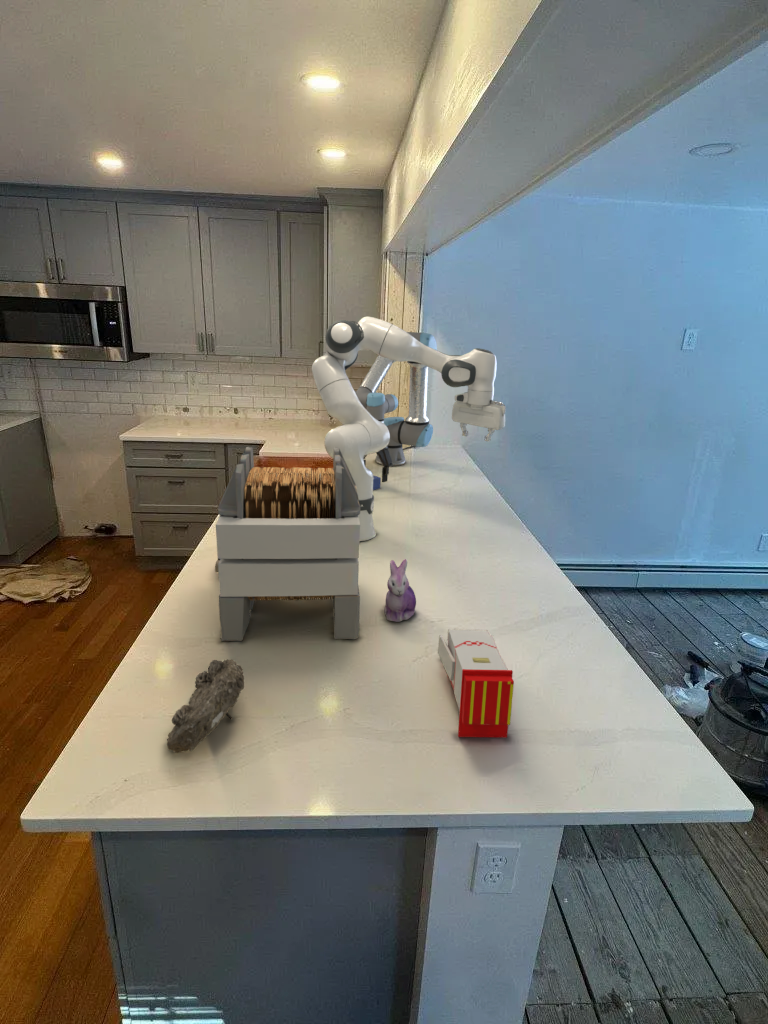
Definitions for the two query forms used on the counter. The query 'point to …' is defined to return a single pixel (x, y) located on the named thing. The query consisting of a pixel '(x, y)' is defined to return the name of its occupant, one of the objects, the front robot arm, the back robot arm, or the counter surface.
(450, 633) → the toy
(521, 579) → the counter surface
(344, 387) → the front robot arm
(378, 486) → the block
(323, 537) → the transformer
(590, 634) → the counter surface
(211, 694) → the fossil
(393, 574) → the figurine
